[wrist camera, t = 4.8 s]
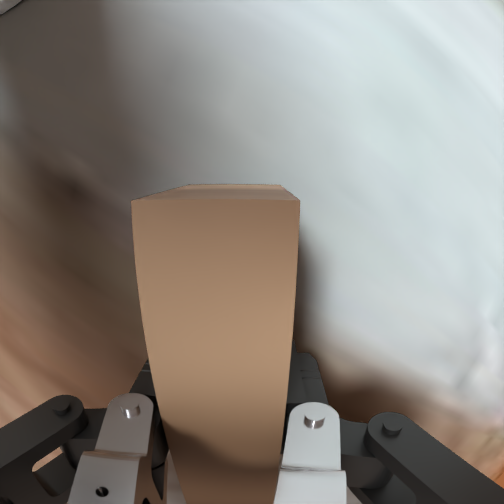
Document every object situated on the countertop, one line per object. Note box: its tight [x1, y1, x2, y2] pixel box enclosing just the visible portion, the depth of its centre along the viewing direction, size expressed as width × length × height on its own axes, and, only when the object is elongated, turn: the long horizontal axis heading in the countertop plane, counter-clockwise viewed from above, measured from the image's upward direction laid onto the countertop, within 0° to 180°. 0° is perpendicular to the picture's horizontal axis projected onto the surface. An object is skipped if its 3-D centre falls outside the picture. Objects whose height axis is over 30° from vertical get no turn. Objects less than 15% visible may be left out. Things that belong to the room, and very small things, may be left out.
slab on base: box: [131, 184, 362, 504], centre depth 9 cm, size 14×14×6 cm
